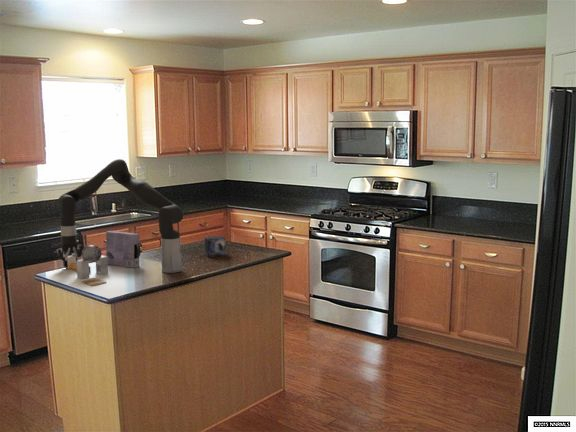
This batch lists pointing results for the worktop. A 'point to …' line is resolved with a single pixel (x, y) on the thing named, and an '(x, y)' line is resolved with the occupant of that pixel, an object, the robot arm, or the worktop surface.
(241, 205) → the worktop surface
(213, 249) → the small box
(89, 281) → the trivet
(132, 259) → the cake pan box
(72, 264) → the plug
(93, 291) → the worktop surface
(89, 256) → the housing
